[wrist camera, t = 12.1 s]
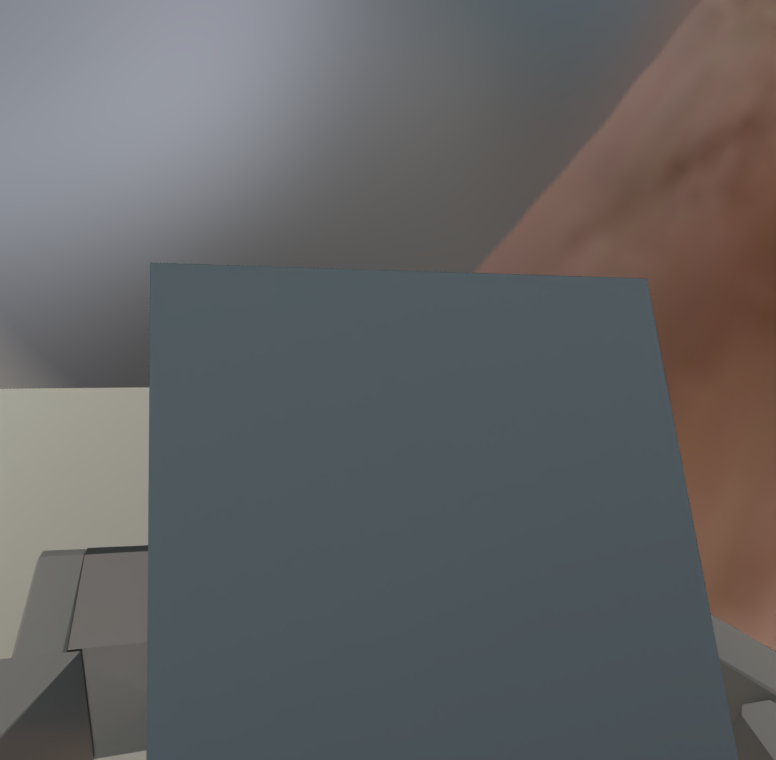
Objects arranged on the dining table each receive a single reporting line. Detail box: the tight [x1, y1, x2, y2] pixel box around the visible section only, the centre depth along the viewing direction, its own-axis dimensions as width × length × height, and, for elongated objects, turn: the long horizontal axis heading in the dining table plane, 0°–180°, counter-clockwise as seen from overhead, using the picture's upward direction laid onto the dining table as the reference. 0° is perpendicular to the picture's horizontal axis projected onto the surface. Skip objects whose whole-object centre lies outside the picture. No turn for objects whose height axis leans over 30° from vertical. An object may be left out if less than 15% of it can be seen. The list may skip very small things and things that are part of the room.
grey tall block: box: [146, 263, 738, 760], centre depth 11 cm, size 4×4×12 cm
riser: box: [0, 387, 149, 760], centre depth 32 cm, size 21×17×7 cm
